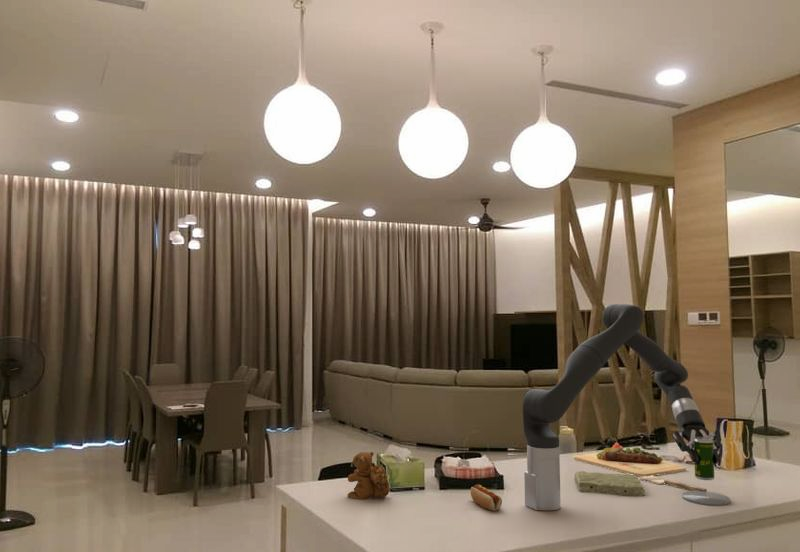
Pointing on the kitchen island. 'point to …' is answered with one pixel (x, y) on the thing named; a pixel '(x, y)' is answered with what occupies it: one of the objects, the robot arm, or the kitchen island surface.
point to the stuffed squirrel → (368, 478)
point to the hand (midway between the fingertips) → (707, 462)
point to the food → (486, 498)
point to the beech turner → (672, 483)
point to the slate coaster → (706, 498)
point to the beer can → (704, 458)
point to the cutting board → (630, 461)
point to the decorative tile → (608, 483)
